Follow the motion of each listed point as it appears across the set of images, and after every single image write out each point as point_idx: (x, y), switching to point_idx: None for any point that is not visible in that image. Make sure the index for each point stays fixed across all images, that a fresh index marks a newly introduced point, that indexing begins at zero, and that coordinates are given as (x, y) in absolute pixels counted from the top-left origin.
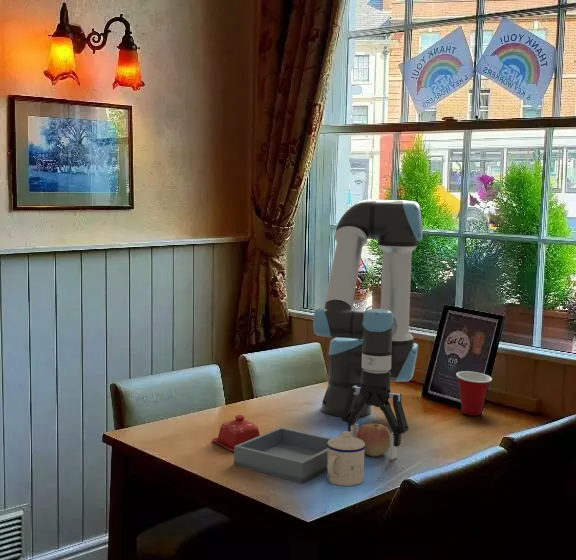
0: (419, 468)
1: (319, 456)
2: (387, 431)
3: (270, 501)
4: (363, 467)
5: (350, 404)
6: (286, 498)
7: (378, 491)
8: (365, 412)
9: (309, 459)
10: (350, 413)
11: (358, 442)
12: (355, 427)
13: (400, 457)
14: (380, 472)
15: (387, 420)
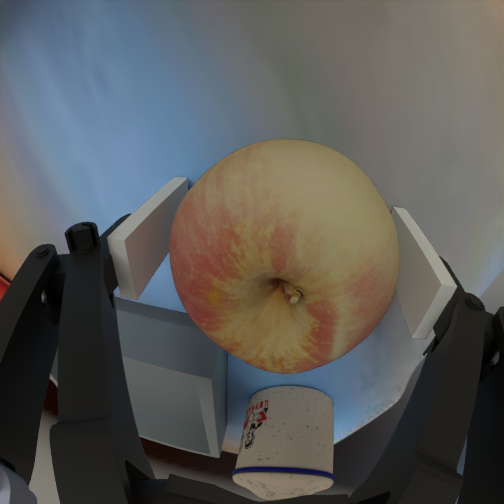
0: (478, 278)
1: (218, 437)
2: (389, 301)
3: (228, 449)
4: (333, 433)
5: (40, 405)
6: (239, 445)
7: (372, 414)
8: None
9: (217, 451)
10: (41, 290)
11: (317, 491)
12: (138, 265)
13: (417, 196)
14: (365, 353)
15: (405, 410)
